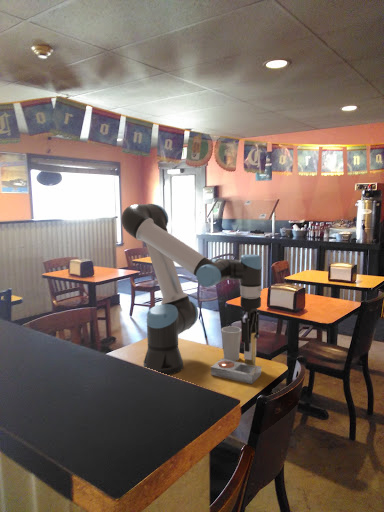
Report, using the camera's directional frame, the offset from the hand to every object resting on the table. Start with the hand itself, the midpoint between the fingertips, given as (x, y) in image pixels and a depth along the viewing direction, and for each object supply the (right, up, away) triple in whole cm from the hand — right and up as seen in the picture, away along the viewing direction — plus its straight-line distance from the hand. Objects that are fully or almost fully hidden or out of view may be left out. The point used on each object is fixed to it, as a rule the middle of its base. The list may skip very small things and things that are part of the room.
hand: (250, 356), depth 148 cm
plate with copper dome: (-6, -5, -5) cm, 9 cm away
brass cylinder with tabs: (0, -5, +1) cm, 5 cm away
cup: (-6, -4, +11) cm, 13 cm away
